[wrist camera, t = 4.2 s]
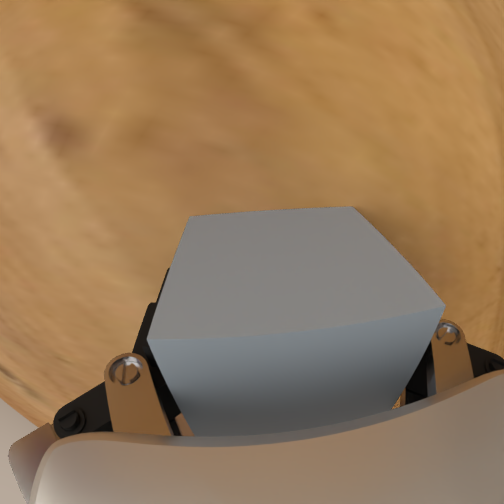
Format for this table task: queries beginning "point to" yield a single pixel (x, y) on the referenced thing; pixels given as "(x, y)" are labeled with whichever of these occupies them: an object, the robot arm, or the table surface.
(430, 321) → the slate cube
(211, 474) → the robot arm
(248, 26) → the table surface
